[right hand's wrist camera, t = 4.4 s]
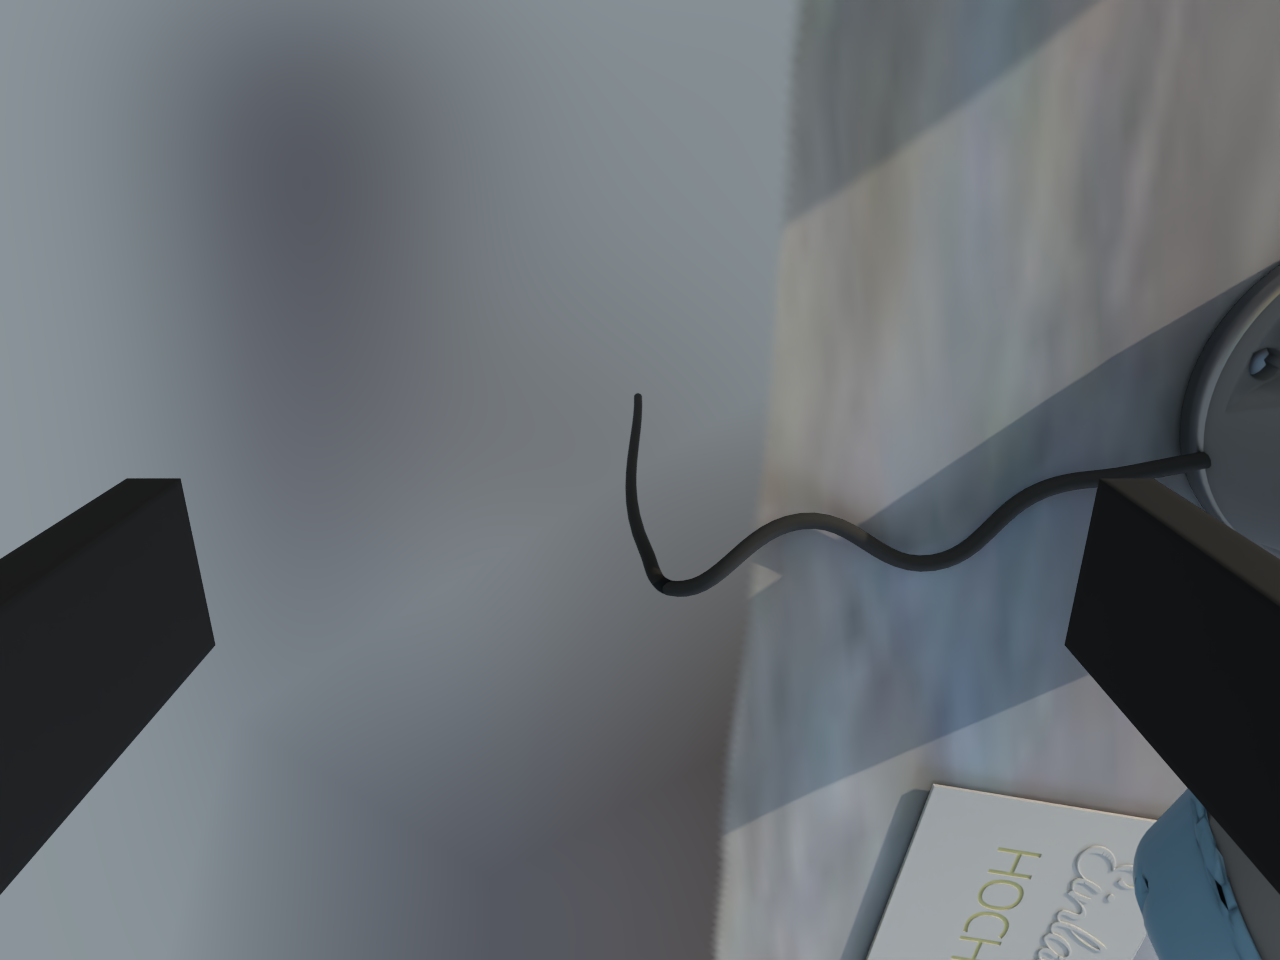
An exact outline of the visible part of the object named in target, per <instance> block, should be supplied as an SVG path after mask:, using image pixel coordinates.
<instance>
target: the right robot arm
mask: <svg viewBox="0 0 1280 960" xmlns="http://www.w3.org/2000/svg"><path fill="white" fill-rule="evenodd" d="M641 422H642V395H641V394H639V393H637V394H635V395H634V411H633V421H632V428H631V435H630V442H629V449H628V456H627V466H626V485H625V491H626V506H627V514H628V520H629V524H630V528H631V532H632V536H633V538H634V541H635V543H636V546H637V549H638V551H639V554H640V556H641V559H642V562H643V566H644V569H645V572H646V575H647V577H648V579H649V581H650V582H651V584H652V585H653V586H654V587H655V588H656V589H657V590H658V591H659V592H661V593H663V594H665V595H669V596H677V597H684V596H690V595H695V594H699V593H701V592H703V591H706V590H708V589H709V588H711V587H712V586H714V585H716V584H717V583H719V582H720V581H721V580H723V579H724V578H725V577H726V576H728V575H729V574H730V573H731V572H732V571H733V570H735V569H736V568H737V567H738V566H739V565H740V564H741V563H742V562H744V561H745V560H746V559H747V558H748V557H749V556H750V555H752V554H753V553H754V552H755V551H757V550H758V549H759V548H760V547H762V546H763V545H765V544H766V543H768V542H769V541H771V540H772V539H774V538H776V537H778V536H780V535H783V534H785V533H788V532H791V531H796V530H801V529H820V530H826V531H829V532H832V533H835V534H837V535H839V536H841V537H843V538H845V539H847V540H849V541H850V542H852V543H854V544H855V545H857V546H858V547H860V548H862V549H863V550H865V551H866V552H868V553H870V554H871V555H873V556H874V557H876V558H878V559H880V560H882V561H884V562H886V563H888V564H890V565H893V566H895V567H899V568H902V569H906V570H911V571H920V572H921V571H935V570H940V569H944V568H948V567H951V566H953V565H956V564H958V563H960V562H962V561H964V560H966V559H968V558H969V557H971V556H972V555H974V554H975V553H976V552H978V551H979V550H980V549H981V548H982V547H984V546H985V545H986V544H987V543H988V542H989V541H990V540H991V539H992V538H993V537H994V536H995V535H996V534H997V533H998V532H999V531H1000V530H1002V529H1003V528H1004V527H1005V526H1006V525H1007V524H1008V523H1009V522H1010V521H1011V520H1012V519H1013V518H1015V517H1016V516H1017V515H1018V514H1019V513H1021V512H1022V511H1023V510H1025V509H1026V508H1028V507H1029V506H1031V505H1033V504H1034V503H1036V502H1038V501H1040V500H1042V499H1045V498H1047V497H1049V496H1052V495H1055V494H1058V493H1062V492H1066V491H1071V490H1077V489H1084V488H1094V487H1098V488H1097V493H1096V498H1095V503H1094V507H1093V512H1092V517H1091V522H1090V526H1089V531H1088V536H1087V541H1086V546H1085V550H1084V555H1083V560H1082V565H1081V569H1080V574H1079V579H1078V584H1077V589H1076V593H1075V598H1074V603H1073V608H1072V612H1071V617H1070V622H1069V627H1068V632H1067V636H1066V641H1065V646H1066V647H1067V648H1068V649H1069V651H1070V652H1071V653H1072V654H1073V655H1074V656H1075V658H1076V659H1077V660H1078V661H1079V662H1080V663H1081V665H1082V666H1083V667H1084V668H1085V669H1086V670H1087V672H1088V673H1089V674H1090V675H1091V676H1092V677H1093V678H1094V680H1095V681H1096V682H1097V683H1098V684H1099V685H1100V687H1101V688H1102V689H1103V690H1104V691H1105V692H1106V694H1107V695H1108V696H1109V697H1110V698H1111V699H1112V701H1113V702H1114V703H1115V704H1116V705H1117V706H1118V708H1119V709H1120V710H1121V711H1122V712H1123V713H1124V714H1125V716H1126V717H1127V718H1128V719H1129V720H1130V721H1131V723H1132V724H1133V725H1134V726H1135V727H1136V728H1137V730H1138V731H1139V732H1140V733H1141V734H1142V735H1143V737H1144V738H1145V739H1146V740H1147V741H1148V742H1149V744H1150V745H1151V746H1152V747H1153V748H1154V749H1155V750H1156V752H1157V753H1158V754H1159V755H1160V756H1161V757H1162V759H1163V760H1164V761H1165V762H1166V763H1167V764H1168V766H1169V767H1170V768H1171V769H1172V770H1173V771H1174V773H1175V774H1176V775H1177V776H1178V777H1179V778H1180V780H1181V781H1182V782H1183V783H1184V784H1185V785H1186V786H1187V788H1188V789H1187V790H1186V791H1185V792H1184V793H1183V794H1182V795H1181V796H1180V797H1179V798H1178V799H1177V800H1176V801H1175V803H1174V804H1173V805H1172V806H1171V807H1170V808H1169V809H1168V810H1167V811H1166V812H1165V813H1164V814H1163V815H1162V816H1161V817H1160V818H1159V819H1158V820H1157V821H1156V822H1155V823H1154V824H1153V825H1152V826H1151V827H1150V828H1149V829H1148V830H1147V831H1146V833H1145V834H1144V836H1143V837H1142V839H1141V840H1140V842H1139V844H1138V846H1137V849H1136V853H1135V857H1134V863H1133V882H1134V889H1135V896H1136V899H1137V902H1138V905H1139V908H1140V911H1141V913H1142V916H1143V920H1144V926H1145V929H1146V931H1147V934H1148V936H1149V938H1150V941H1151V943H1152V945H1153V948H1154V950H1155V952H1156V954H1157V956H1158V958H1159V960H1280V265H1279V266H1277V267H1276V268H1275V269H1273V270H1272V271H1271V272H1269V273H1268V274H1267V275H1266V276H1265V277H1263V278H1262V279H1261V280H1260V281H1258V282H1257V283H1256V284H1255V285H1254V286H1253V287H1252V288H1251V289H1250V290H1249V291H1248V292H1247V293H1246V294H1245V295H1244V296H1243V297H1242V298H1241V299H1240V300H1239V301H1238V302H1237V303H1236V304H1235V305H1234V307H1233V308H1232V309H1231V310H1230V311H1229V312H1228V313H1227V315H1226V316H1225V317H1224V319H1223V320H1222V321H1221V323H1220V324H1219V325H1218V327H1217V328H1216V330H1215V331H1214V333H1213V334H1212V336H1211V337H1210V339H1209V340H1208V342H1207V344H1206V345H1205V347H1204V349H1203V351H1202V353H1201V355H1200V357H1199V359H1198V361H1197V363H1196V365H1195V368H1194V370H1193V373H1192V375H1191V378H1190V381H1189V384H1188V387H1187V390H1186V393H1185V398H1184V402H1183V407H1182V414H1181V422H1180V446H1181V456H1176V457H1171V458H1165V459H1160V460H1155V461H1150V462H1145V463H1140V464H1134V465H1129V466H1124V467H1118V468H1111V469H1103V470H1094V471H1085V472H1077V473H1070V474H1065V475H1061V476H1057V477H1053V478H1050V479H1047V480H1044V481H1041V482H1039V483H1036V484H1034V485H1032V486H1030V487H1028V488H1026V489H1024V490H1023V491H1021V492H1019V493H1018V494H1016V495H1015V496H1013V497H1012V498H1011V499H1009V500H1008V501H1007V502H1005V503H1004V504H1003V505H1002V506H1001V507H1000V508H999V509H998V510H996V511H995V512H994V513H993V514H992V515H991V516H990V517H989V518H988V519H987V520H986V521H985V522H984V523H983V524H982V525H981V526H980V527H979V528H978V529H977V530H976V531H975V532H974V533H973V534H971V535H970V536H969V537H968V538H967V539H965V540H964V541H963V542H961V543H960V544H958V545H957V546H955V547H953V548H951V549H949V550H947V551H944V552H941V553H937V554H933V555H921V556H918V555H909V554H906V553H902V552H900V551H897V550H895V549H893V548H891V547H889V546H887V545H886V544H884V543H882V542H881V541H879V540H877V539H876V538H874V537H873V536H871V535H870V534H868V533H866V532H865V531H863V530H862V529H860V528H858V527H857V526H855V525H853V524H851V523H849V522H847V521H845V520H843V519H840V518H837V517H834V516H831V515H826V514H819V513H799V514H794V515H789V516H785V517H782V518H779V519H777V520H774V521H772V522H770V523H768V524H766V525H764V526H762V527H761V528H759V529H758V530H756V531H755V532H753V533H752V534H751V535H749V536H748V537H747V538H745V539H744V540H743V541H742V542H740V543H739V544H738V545H737V546H736V547H735V548H734V549H733V550H731V551H730V552H729V553H728V554H727V555H726V556H725V557H724V558H722V559H721V560H720V561H719V562H718V563H717V564H715V565H714V566H713V567H711V568H710V569H709V570H707V571H706V572H704V573H703V574H701V575H699V576H697V577H695V578H692V579H689V580H684V581H672V580H669V579H667V578H666V577H665V576H664V575H663V574H662V572H661V570H660V567H659V565H658V562H657V559H656V556H655V553H654V551H653V548H652V546H651V544H650V541H649V539H648V537H647V534H646V532H645V529H644V526H643V522H642V519H641V516H640V510H639V505H638V499H637V486H636V474H637V460H638V450H639V441H640V432H641ZM1185 472H1186V475H1187V478H1188V481H1189V484H1190V486H1191V488H1192V490H1193V492H1194V494H1195V496H1196V497H1197V499H1198V500H1199V502H1200V503H1201V505H1202V506H1203V508H1204V509H1205V510H1206V511H1207V512H1208V513H1207V512H1205V511H1203V510H1202V509H1200V508H1199V507H1197V506H1196V505H1194V504H1192V503H1191V502H1189V501H1188V500H1186V499H1185V498H1183V497H1181V496H1180V495H1178V494H1177V493H1175V492H1174V491H1172V490H1170V489H1169V488H1167V487H1166V486H1164V485H1163V484H1161V483H1159V482H1158V481H1156V480H1155V479H1153V478H1159V477H1164V476H1169V475H1175V474H1180V473H1185ZM214 646H215V641H214V636H213V632H212V627H211V622H210V617H209V613H208V608H207V603H206V598H205V593H204V589H203V584H202V579H201V574H200V569H199V565H198V560H197V555H196V550H195V546H194V541H193V536H192V531H191V526H190V522H189V517H188V512H187V507H186V503H185V498H184V493H183V488H182V483H181V479H125V480H124V481H122V482H121V483H119V484H117V485H116V486H114V487H113V488H111V489H110V490H108V491H106V492H105V493H103V494H102V495H100V496H99V497H97V498H95V499H94V500H92V501H91V502H89V503H88V504H86V505H84V506H83V507H81V508H80V509H78V510H77V511H75V512H74V513H72V514H70V515H69V516H67V517H66V518H64V519H62V520H61V521H59V522H58V523H56V524H55V525H53V526H51V527H50V528H48V529H47V530H45V531H44V532H42V533H40V534H39V535H37V536H36V537H34V538H33V539H31V540H29V541H28V542H26V543H25V544H23V545H22V546H20V547H18V548H17V549H15V550H14V551H12V552H11V553H9V554H7V555H6V556H4V557H3V558H1V559H0V894H1V893H2V892H3V891H4V890H5V889H6V887H7V886H8V885H9V884H10V883H11V882H12V880H13V879H14V878H15V877H16V876H17V875H18V873H19V872H20V871H21V870H22V869H23V868H24V867H25V865H26V864H27V863H28V862H29V861H30V860H31V858H32V857H33V856H34V855H35V854H36V853H37V851H38V850H39V849H40V848H41V847H42V846H43V844H44V843H45V842H46V841H47V840H48V839H49V838H50V836H51V835H52V834H53V833H54V832H55V831H56V829H57V828H58V827H59V826H60V825H61V824H62V822H63V821H64V820H65V819H66V818H67V817H68V815H69V814H70V813H71V812H72V811H73V810H74V808H75V807H76V806H77V805H78V804H79V803H80V802H81V800H82V799H83V798H84V797H85V796H86V795H87V793H88V792H89V791H90V790H91V789H92V788H93V786H94V785H95V784H96V783H97V782H98V781H99V779H100V778H101V777H102V776H103V775H104V774H105V772H106V771H107V770H108V769H109V768H110V767H111V766H112V764H113V763H114V762H115V761H116V760H117V759H118V757H119V756H120V755H121V754H122V753H123V752H124V750H125V749H126V748H127V747H128V746H129V745H130V744H131V742H132V741H133V740H134V739H135V738H136V737H137V735H138V734H139V733H140V732H141V731H142V730H143V728H144V727H145V726H146V725H147V724H148V723H149V721H150V720H151V719H152V718H153V717H154V716H155V714H156V713H157V712H158V711H159V710H160V709H161V708H162V706H163V705H164V704H165V703H166V702H167V700H168V699H169V698H170V697H171V696H172V695H173V693H174V692H175V691H176V690H177V689H178V688H179V687H180V685H181V684H182V683H183V682H184V681H185V680H186V678H187V677H188V676H189V675H190V674H191V673H192V672H193V670H194V669H195V668H196V667H197V666H198V664H199V663H200V662H201V661H202V660H203V659H204V658H205V656H206V655H207V654H208V653H209V652H210V651H211V649H212V648H213V647H214Z"/></svg>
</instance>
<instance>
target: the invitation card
mask: <svg viewBox="0 0 1280 960" xmlns="http://www.w3.org/2000/svg"><path fill="white" fill-rule="evenodd" d="M1156 821H1157V820H1152V819H1146V818H1140V817H1134V816H1128V815H1122V814H1116V813H1109V812H1103V811H1097V810H1091V809H1085V808H1079V807H1073V806H1067V805H1061V804H1054V803H1048V802H1042V801H1036V800H1030V799H1024V798H1018V797H1012V796H1005V795H999V794H993V793H987V792H981V791H975V790H969V789H963V788H957V787H950V786H944V785H938V784H933V785H932V788H931V790H930V793H929V796H928V798H927V801H926V803H925V806H924V809H923V811H922V814H921V816H920V819H919V822H918V824H917V827H916V829H915V832H914V835H913V837H912V840H911V843H910V845H909V848H908V850H907V853H906V856H905V858H904V861H903V863H902V866H901V869H900V871H899V874H898V876H897V879H896V882H895V884H894V887H893V889H892V892H891V895H890V897H889V900H888V903H887V905H886V908H885V910H884V913H883V916H882V918H881V921H880V923H879V926H878V929H877V931H876V934H875V936H874V939H873V942H872V944H871V947H870V949H869V952H868V955H867V957H866V960H1133V958H1134V957H1135V955H1136V953H1137V951H1138V949H1139V947H1140V945H1141V944H1142V942H1143V940H1144V938H1145V936H1146V934H1147V931H1146V929H1145V926H1144V920H1143V916H1142V913H1141V911H1140V908H1139V905H1138V902H1137V899H1136V896H1135V889H1134V882H1133V863H1134V857H1135V853H1136V849H1137V846H1138V844H1139V842H1140V840H1141V839H1142V837H1143V836H1144V834H1145V833H1146V831H1147V830H1148V829H1149V828H1150V827H1151V826H1152V825H1153V824H1154V823H1155V822H1156Z"/></svg>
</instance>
